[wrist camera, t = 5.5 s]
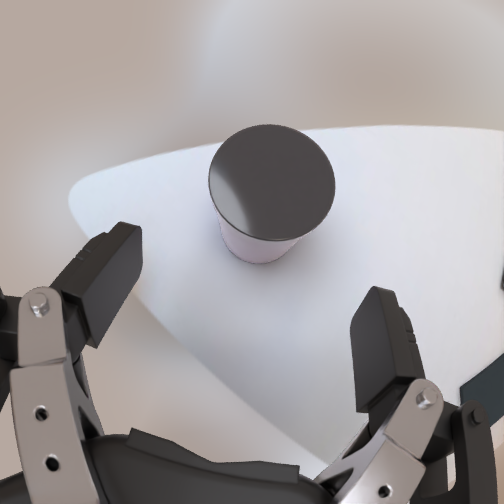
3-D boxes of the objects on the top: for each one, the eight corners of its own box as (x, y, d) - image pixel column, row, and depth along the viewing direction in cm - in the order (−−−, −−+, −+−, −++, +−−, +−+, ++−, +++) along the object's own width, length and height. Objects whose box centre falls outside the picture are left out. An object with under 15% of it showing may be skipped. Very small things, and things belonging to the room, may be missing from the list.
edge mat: (461, 447, 17) (463, 448, 17) (459, 387, 18) (462, 388, 18) (526, 389, 18) (528, 390, 18) (525, 333, 19) (528, 333, 19)
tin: (231, 274, 19) (227, 257, 11) (211, 200, 19) (195, 139, 11) (307, 253, 19) (353, 222, 11) (283, 182, 20) (310, 115, 12)
